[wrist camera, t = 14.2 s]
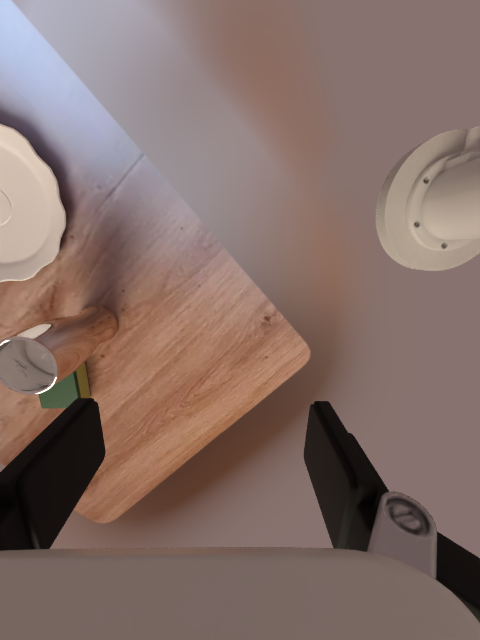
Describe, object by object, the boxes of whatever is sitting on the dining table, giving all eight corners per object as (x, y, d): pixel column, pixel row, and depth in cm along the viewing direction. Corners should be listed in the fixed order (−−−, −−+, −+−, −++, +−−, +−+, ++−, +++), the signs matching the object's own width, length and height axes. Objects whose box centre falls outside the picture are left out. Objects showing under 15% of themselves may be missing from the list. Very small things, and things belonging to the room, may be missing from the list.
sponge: (45, 348, 40) (29, 357, 37) (83, 349, 40) (70, 357, 37) (55, 396, 43) (41, 408, 39) (90, 396, 43) (79, 408, 40)
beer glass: (103, 351, 41) (34, 408, 26) (67, 323, 39) (-27, 367, 25) (130, 323, 40) (73, 366, 25) (94, 293, 38) (11, 320, 24)
